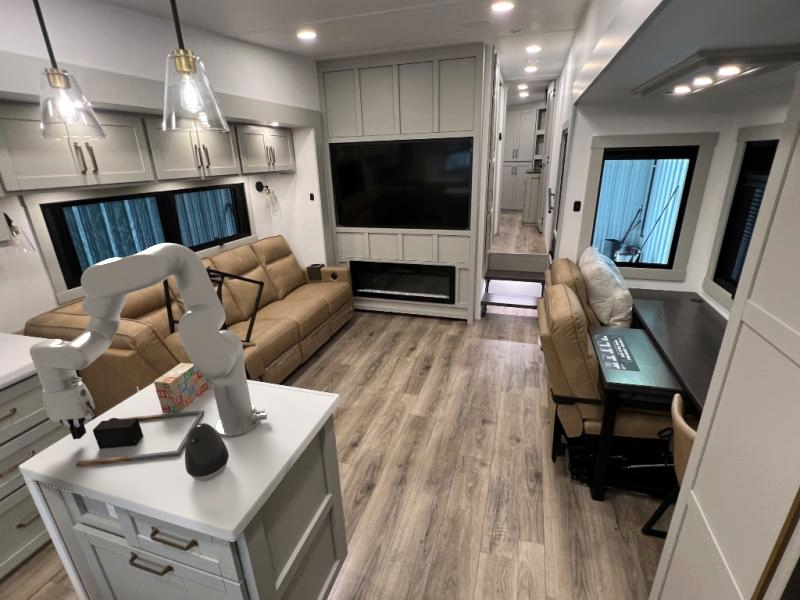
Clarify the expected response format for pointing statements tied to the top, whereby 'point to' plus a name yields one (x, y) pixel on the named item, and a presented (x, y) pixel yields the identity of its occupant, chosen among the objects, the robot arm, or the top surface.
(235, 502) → the top surface
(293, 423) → the top surface
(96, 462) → the shelf lane
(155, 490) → the top surface
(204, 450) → the black rounded mouse
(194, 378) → the stack of blocks
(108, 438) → the digital camera
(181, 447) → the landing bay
